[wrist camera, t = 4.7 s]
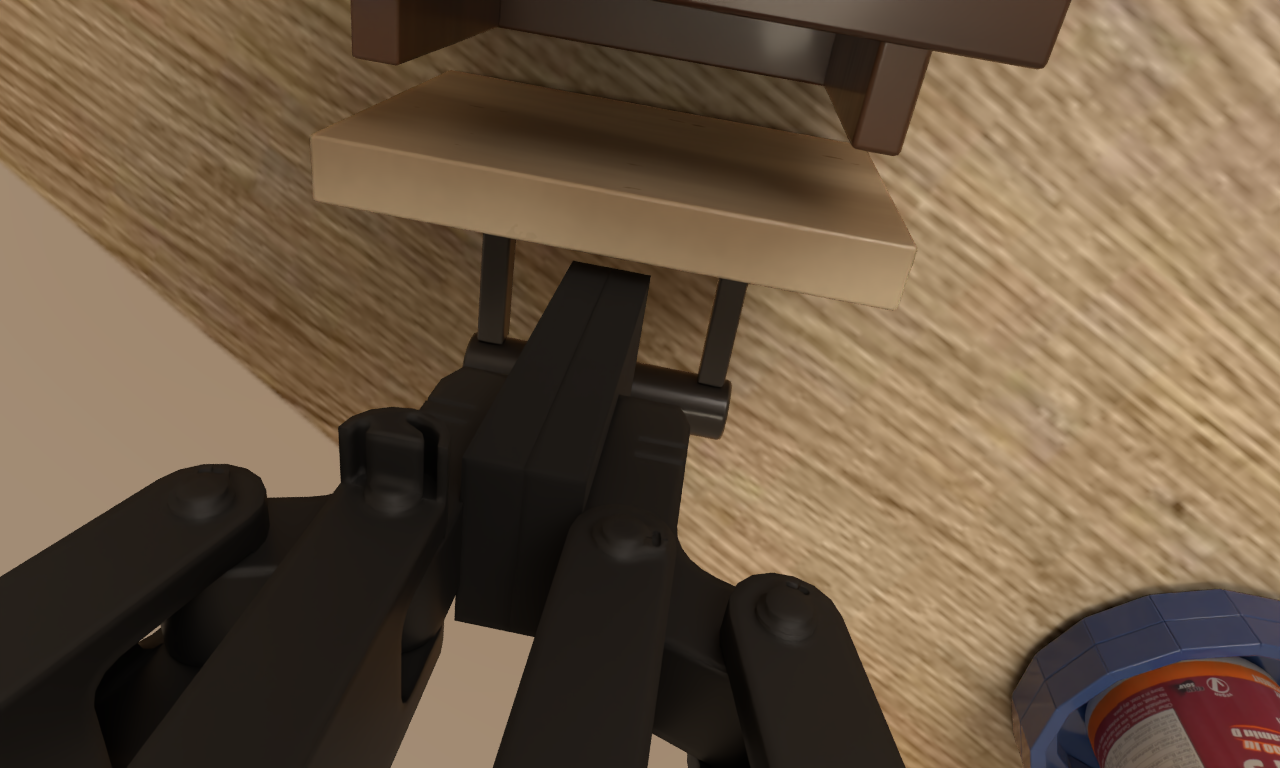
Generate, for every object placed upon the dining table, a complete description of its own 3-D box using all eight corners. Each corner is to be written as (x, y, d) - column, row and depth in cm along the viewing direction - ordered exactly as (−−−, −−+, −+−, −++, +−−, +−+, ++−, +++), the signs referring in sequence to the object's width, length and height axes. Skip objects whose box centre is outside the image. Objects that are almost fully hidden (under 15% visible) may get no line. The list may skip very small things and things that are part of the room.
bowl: (967, 759, 31) (983, 824, 29) (1084, 555, 26) (1115, 614, 23) (1242, 816, 31) (1281, 886, 28) (1418, 620, 25) (1483, 688, 23)
